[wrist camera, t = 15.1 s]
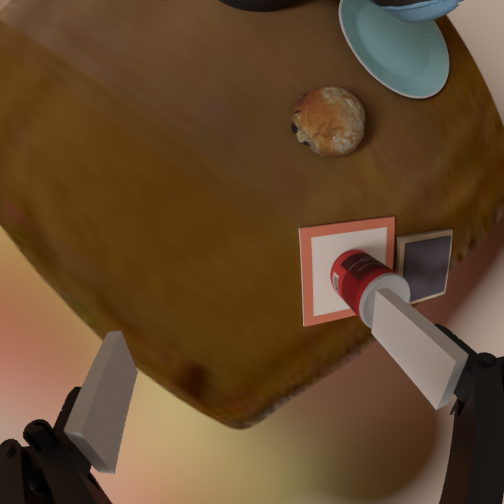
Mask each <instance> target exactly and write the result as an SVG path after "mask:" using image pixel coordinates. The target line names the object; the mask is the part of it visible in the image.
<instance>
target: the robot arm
mask: <svg viewBox="0 0 504 504" xmlns="http://www.w3.org/2000/svg"><path fill="white" fill-rule="evenodd" d="M219 1H221V2H222V3H224V4H227V5H229V6H232V7H234V8H238V9H242V10H248V11H272V10H277V9H281V8H284V7H286V6H288V5H290V4H292V3H293V2H294V1H296V0H219ZM369 1H371V3H372V4H373V5H374V6H376V7H378V8H381V9H383V10H385V11H386V12H388V13H389V14H390V15H392V16H393V17H395V18H396V19H398V20H400V21H402V22H406V23H411V24H419V23H425V22H429V21H432V20H435V19H437V18H440V17H442V16H444V15H446V14H447V13H449V12H451V11H452V10H454V9H455V8H456V7H457V6H458V2H461V1H463V0H369ZM372 334H373V335H374V337H375V338H376V339H377V340H378V341H379V342H380V343H381V345H382V346H383V347H384V348H385V349H386V350H387V351H388V352H389V354H390V355H391V356H392V357H393V358H394V360H395V361H396V362H397V363H398V364H399V365H400V367H401V368H402V369H403V370H404V371H405V373H406V374H407V375H408V376H409V377H410V378H411V380H412V381H413V382H414V383H415V384H416V386H417V387H418V388H419V389H420V390H421V392H422V393H423V394H424V395H425V396H426V398H427V399H428V400H429V401H430V403H431V404H432V405H433V406H434V407H435V409H436V410H437V409H439V408H441V407H442V406H445V405H446V404H448V403H449V402H450V400H451V398H452V395H453V393H454V394H455V395H456V397H457V400H456V402H455V404H454V406H453V408H452V410H451V413H450V415H452V414H453V412H454V410H455V414H454V425H453V434H452V442H451V449H450V455H449V461H448V467H447V472H446V477H445V482H444V486H443V490H442V495H441V499H440V502H439V504H502V502H503V494H504V356H503V357H499V358H496V357H495V356H494V355H492V354H490V353H486V352H484V353H479V354H477V353H476V352H475V351H474V350H472V349H471V348H470V347H469V346H468V345H467V344H465V343H464V342H463V341H462V340H461V339H458V337H457V336H456V335H453V333H452V332H451V331H450V330H449V329H447V328H446V327H444V326H441V325H439V324H435V325H433V324H432V323H431V322H430V321H429V320H427V319H426V318H425V317H424V316H423V315H421V314H420V313H419V312H417V311H416V310H415V309H414V308H413V307H411V306H410V305H409V304H408V303H407V302H405V301H404V300H403V299H402V298H400V297H399V296H398V295H397V294H395V293H394V292H393V291H391V290H390V289H389V288H388V287H387V288H383V289H378V290H376V293H375V305H374V315H373V324H372ZM137 373H138V372H137V370H136V367H135V365H134V362H133V360H132V358H131V355H130V352H129V350H128V347H127V345H126V342H125V339H124V337H123V334H122V331H112V332H108V333H107V335H106V337H105V339H104V341H103V343H102V345H101V347H100V349H99V351H98V353H97V355H96V357H95V360H94V362H93V364H92V366H91V368H90V370H89V372H88V375H87V377H86V379H85V381H84V383H83V385H82V387H75V388H74V389H73V390H72V391H71V392H70V393H69V394H68V396H67V398H66V400H65V402H64V403H65V404H64V405H63V407H62V411H60V413H59V416H58V418H57V420H56V423H55V425H54V427H53V428H52V427H51V426H50V424H49V423H48V422H47V421H45V420H42V419H37V420H34V421H32V422H31V423H29V424H28V425H27V426H26V427H25V429H24V432H23V438H24V439H25V440H26V442H27V443H28V444H29V445H30V446H26V447H22V446H21V445H20V444H19V443H18V441H17V440H14V439H8V440H5V441H4V442H3V443H2V444H1V445H0V504H112V503H111V501H110V500H109V498H108V497H107V495H106V494H105V493H104V491H103V490H102V488H101V487H100V485H99V484H98V482H97V481H96V479H95V477H94V476H93V475H92V474H91V473H90V469H91V465H92V466H93V467H94V468H95V469H96V470H97V471H98V472H103V473H112V474H115V469H116V464H117V459H118V453H119V449H120V444H121V439H122V434H123V430H124V426H125V421H126V417H127V412H128V408H129V404H130V400H131V396H132V392H133V388H134V384H135V380H136V377H137Z"/></svg>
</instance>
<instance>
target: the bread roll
mask: <svg viewBox="0 0 504 504" xmlns="http://www.w3.org/2000/svg"><path fill="white" fill-rule="evenodd" d="M364 125H365V111H364V108H363V106H362V104H361V102H360V101H359V100H358V99H357V98H356V97H355V96H354V95H353V94H351V93H350V92H349V91H347V90H345V89H344V88H341V87H338V86H326V87H321V88H317V89H314V90H311V91H309V92H307V93H306V94H304V95H303V96H302V97H301V98H300V99H299V100H298V101H297V102H296V104H295V106H294V109H293V114H292V125H291V130H292V132H294V133H296V135H297V138H298V141H300V142H301V143H303V144H305V145H308V146H309V147H310V148H311V150H313V151H314V152H316V153H317V154H320V155H321V156H325V157H340V156H344V155H347V154H349V153H351V152H353V151H354V150H355V149H356V147H357V146H358V144H359V143H360V142H361V140H362V138H363V137H364Z"/></svg>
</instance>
